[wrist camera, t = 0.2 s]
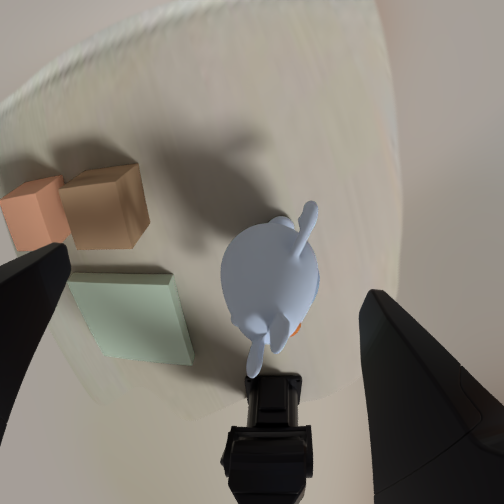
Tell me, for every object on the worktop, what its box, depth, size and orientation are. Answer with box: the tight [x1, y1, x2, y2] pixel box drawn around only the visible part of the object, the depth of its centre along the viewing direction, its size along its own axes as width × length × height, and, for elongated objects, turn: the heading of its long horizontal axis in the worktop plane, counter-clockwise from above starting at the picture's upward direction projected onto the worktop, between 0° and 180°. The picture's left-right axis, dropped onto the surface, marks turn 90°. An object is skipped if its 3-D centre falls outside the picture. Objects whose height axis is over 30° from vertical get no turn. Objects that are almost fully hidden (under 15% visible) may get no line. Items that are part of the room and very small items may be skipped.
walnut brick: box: [58, 163, 150, 250], centre depth 21 cm, size 5×5×4 cm
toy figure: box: [221, 201, 320, 378], centre depth 19 cm, size 11×6×12 cm, turn 152°
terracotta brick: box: [0, 175, 71, 251], centre depth 22 cm, size 5×5×4 cm
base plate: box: [67, 273, 195, 366], centre depth 29 cm, size 11×11×2 cm
